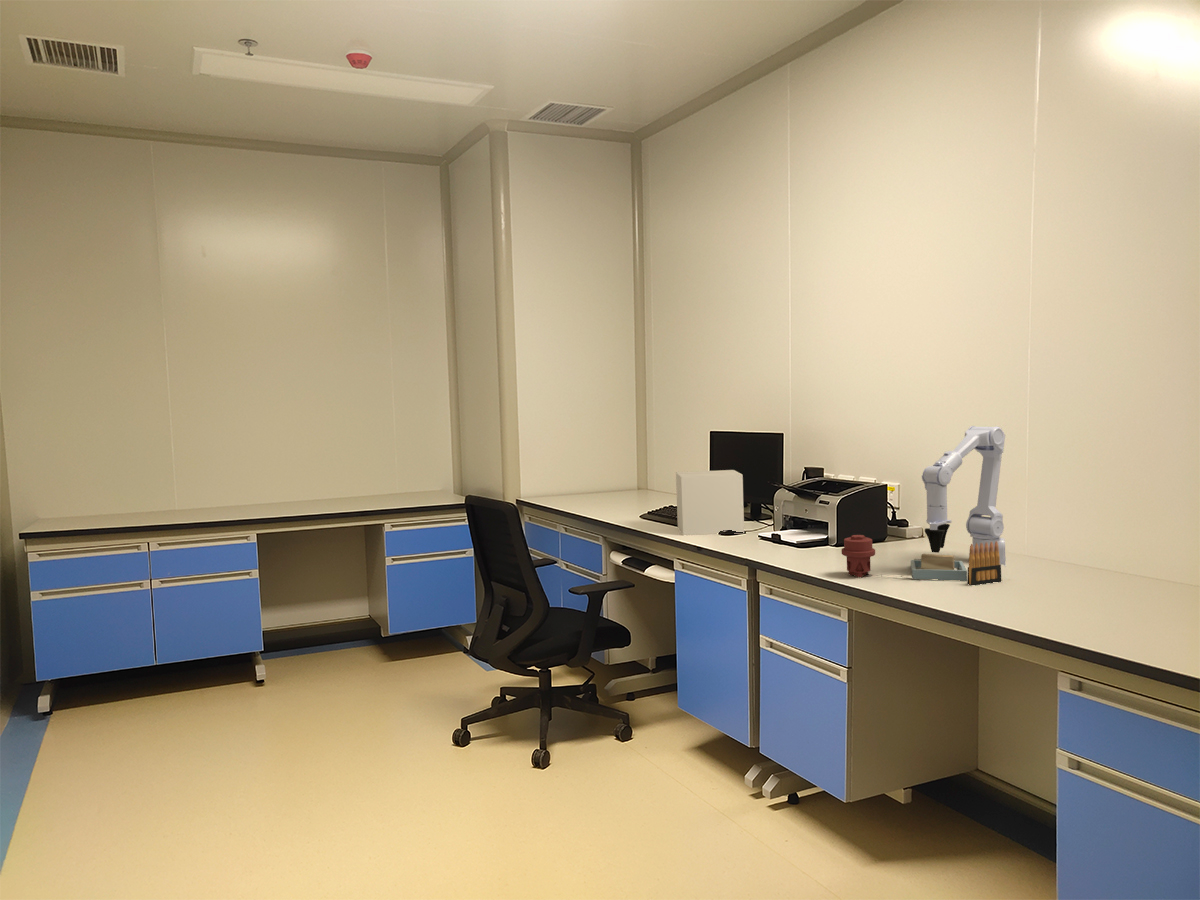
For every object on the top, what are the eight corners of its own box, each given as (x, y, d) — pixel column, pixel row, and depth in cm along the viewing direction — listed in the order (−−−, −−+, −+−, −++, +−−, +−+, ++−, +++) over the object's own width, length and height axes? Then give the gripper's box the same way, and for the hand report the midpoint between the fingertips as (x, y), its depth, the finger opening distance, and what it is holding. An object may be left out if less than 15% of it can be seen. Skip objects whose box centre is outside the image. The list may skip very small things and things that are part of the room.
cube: (735, 526, 372) (733, 469, 371) (744, 534, 351) (742, 474, 349) (677, 528, 372) (675, 472, 370) (683, 536, 351) (681, 477, 349)
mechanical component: (873, 572, 269) (877, 579, 259) (840, 571, 271) (843, 578, 261) (873, 533, 268) (876, 538, 258) (840, 533, 270) (842, 538, 260)
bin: (962, 570, 266) (962, 560, 266) (967, 581, 252) (966, 571, 252) (910, 569, 271) (910, 559, 271) (912, 579, 257) (912, 569, 256)
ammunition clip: (971, 585, 246) (971, 544, 245) (967, 584, 248) (966, 543, 247) (1001, 582, 249) (1001, 541, 249) (997, 580, 251) (996, 540, 250)
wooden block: (923, 571, 265) (922, 553, 265) (954, 573, 260) (954, 555, 260) (921, 573, 262) (921, 555, 262) (952, 575, 258) (952, 557, 257)
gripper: (947, 509, 252) (948, 555, 253) (954, 502, 264) (955, 546, 265) (922, 508, 255) (922, 553, 256) (930, 502, 268) (931, 545, 269)
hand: (937, 549), depth 261 cm, fingers open, 7 cm apart
